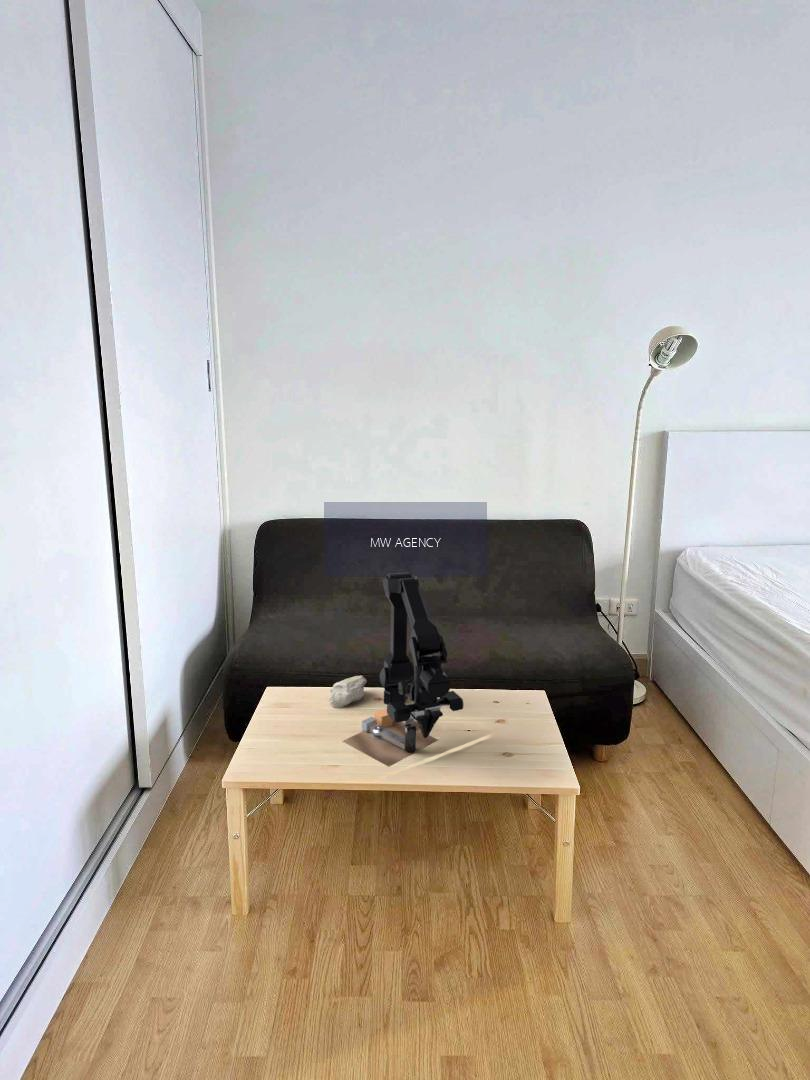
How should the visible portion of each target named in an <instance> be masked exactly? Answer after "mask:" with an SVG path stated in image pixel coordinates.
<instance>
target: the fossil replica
mask: <svg viewBox="0 0 810 1080" xmlns="http://www.w3.org/2000/svg"><path fill="white" fill-rule="evenodd" d="M367 682H368V681H367V679H366V678H365V677H364V676H363V675H355V676H352V677H351V676H350V677H348V678H345V679H343V680H340V681H337V682H335V683H334V684H333V686H332V687H330V689H329V691H330V696H329V697H328V701H329V704H330V705H331V706H332V707H333V708H336V709H339V708H340V709H341V708H344V707H346V706H348V705H350V704H352V703H355V702H359V701H361V700H362V698H363V696H364V695H365V688H364V687H365V685H366V683H367Z"/></svg>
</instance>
